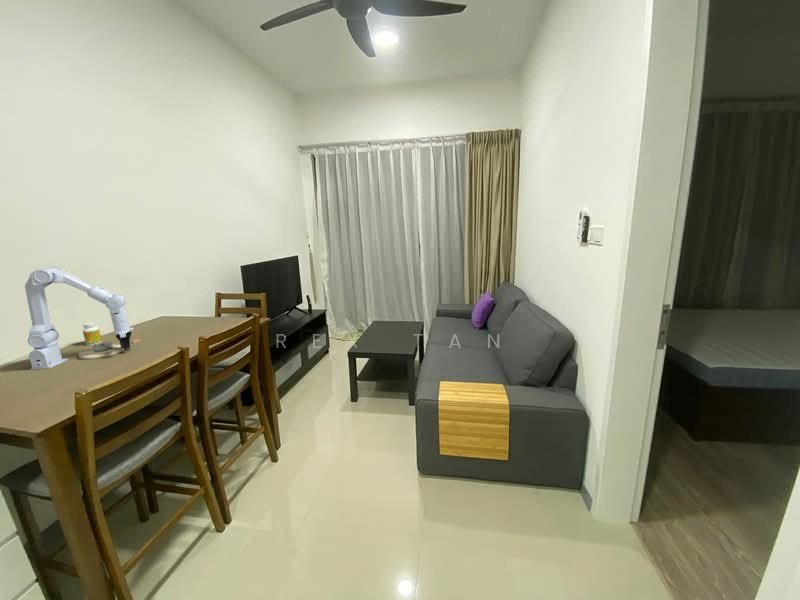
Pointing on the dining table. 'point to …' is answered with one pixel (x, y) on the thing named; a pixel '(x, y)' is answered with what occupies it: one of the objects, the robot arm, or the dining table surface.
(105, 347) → the cover
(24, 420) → the dining table surface
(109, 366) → the dining table surface
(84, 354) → the turntable
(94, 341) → the supplement bottle
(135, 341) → the peach rectangular brick
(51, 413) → the dining table surface
